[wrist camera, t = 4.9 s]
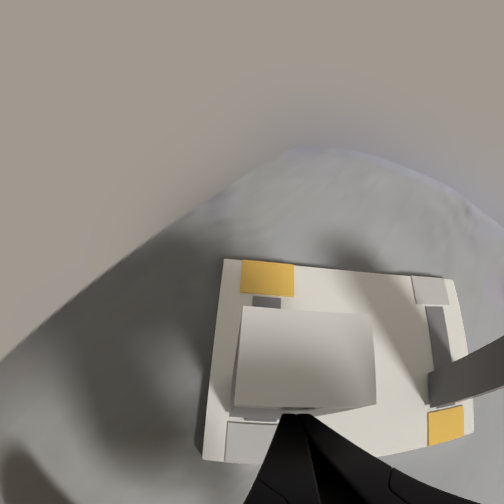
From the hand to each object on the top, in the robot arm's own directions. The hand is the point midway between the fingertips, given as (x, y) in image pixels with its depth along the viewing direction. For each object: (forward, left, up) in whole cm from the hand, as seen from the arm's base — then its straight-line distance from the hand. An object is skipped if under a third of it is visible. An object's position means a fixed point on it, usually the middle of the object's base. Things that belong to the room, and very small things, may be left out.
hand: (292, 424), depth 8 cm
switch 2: (-9, -10, -8) cm, 15 cm away
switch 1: (+1, -1, -8) cm, 8 cm away
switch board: (-2, -7, -9) cm, 12 cm away
